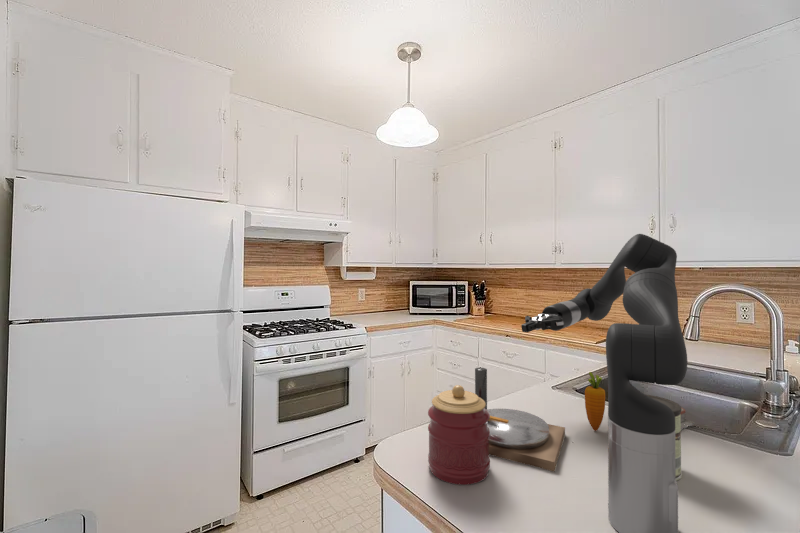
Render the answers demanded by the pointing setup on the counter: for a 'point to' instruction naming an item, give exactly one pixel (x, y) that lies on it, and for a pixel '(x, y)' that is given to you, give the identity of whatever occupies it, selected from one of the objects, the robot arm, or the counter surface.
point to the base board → (535, 451)
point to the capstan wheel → (511, 422)
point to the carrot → (595, 402)
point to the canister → (459, 437)
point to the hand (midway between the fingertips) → (523, 328)
